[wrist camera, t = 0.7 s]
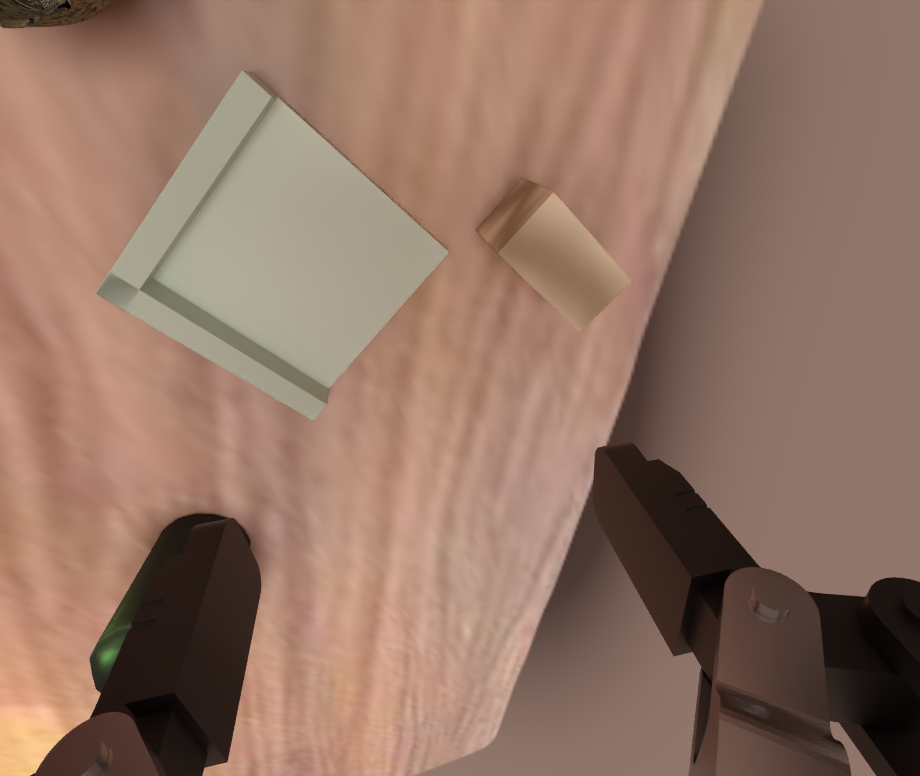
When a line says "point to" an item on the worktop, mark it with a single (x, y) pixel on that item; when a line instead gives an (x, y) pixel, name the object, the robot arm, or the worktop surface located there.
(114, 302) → the corner tray
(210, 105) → the worktop surface
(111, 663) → the potion bottle
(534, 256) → the maple brick
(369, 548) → the worktop surface
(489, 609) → the worktop surface
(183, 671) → the robot arm
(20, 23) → the cup
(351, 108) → the worktop surface
